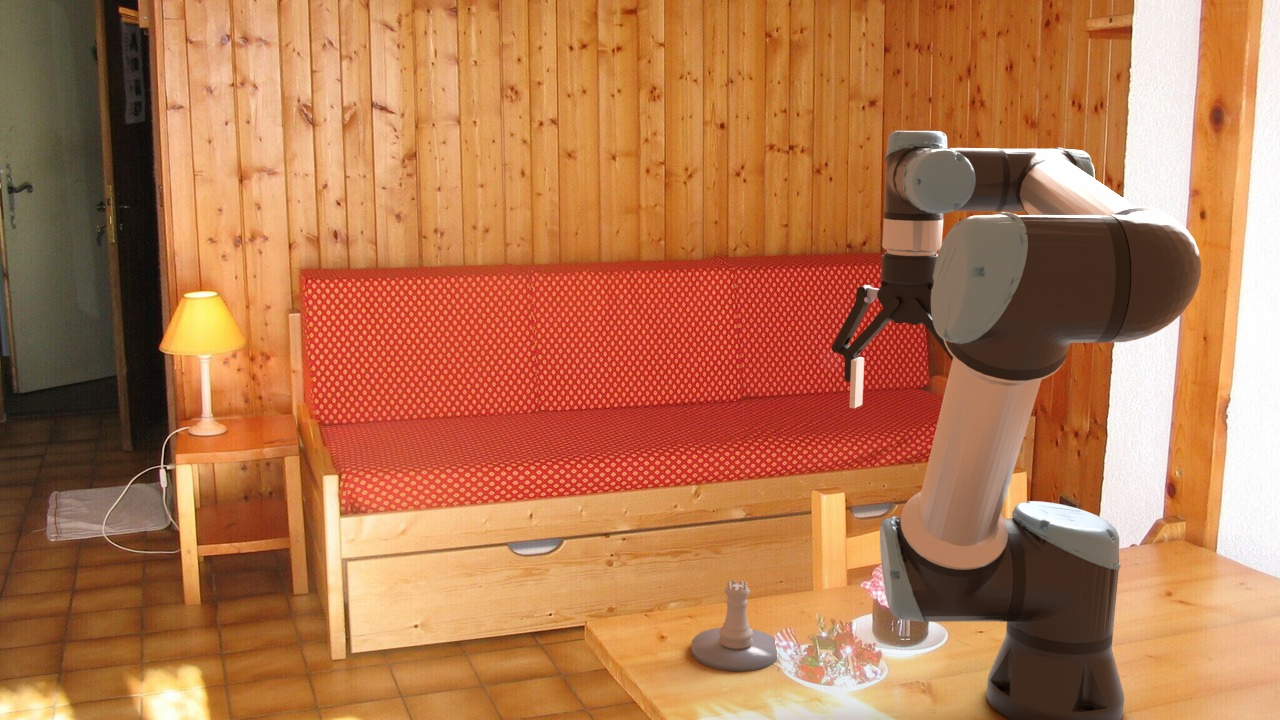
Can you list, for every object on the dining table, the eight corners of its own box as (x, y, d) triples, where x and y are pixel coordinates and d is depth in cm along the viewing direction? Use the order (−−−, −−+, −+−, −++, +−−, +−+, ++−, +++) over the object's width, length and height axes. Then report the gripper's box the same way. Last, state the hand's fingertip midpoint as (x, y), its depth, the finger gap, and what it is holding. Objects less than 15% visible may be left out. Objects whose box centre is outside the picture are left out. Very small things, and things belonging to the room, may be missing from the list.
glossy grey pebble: (792, 647, 163) (793, 638, 163) (754, 678, 154) (754, 669, 154) (717, 629, 169) (717, 620, 169) (675, 658, 160) (675, 649, 160)
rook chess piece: (731, 633, 164) (733, 575, 163) (760, 643, 162) (762, 583, 160) (711, 644, 161) (712, 584, 160) (740, 654, 158) (741, 592, 157)
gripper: (1016, 255, 161) (1006, 419, 165) (833, 244, 174) (828, 396, 178) (999, 260, 155) (989, 430, 158) (810, 248, 167) (805, 406, 171)
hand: (904, 412), depth 168 cm, fingers open, 13 cm apart
